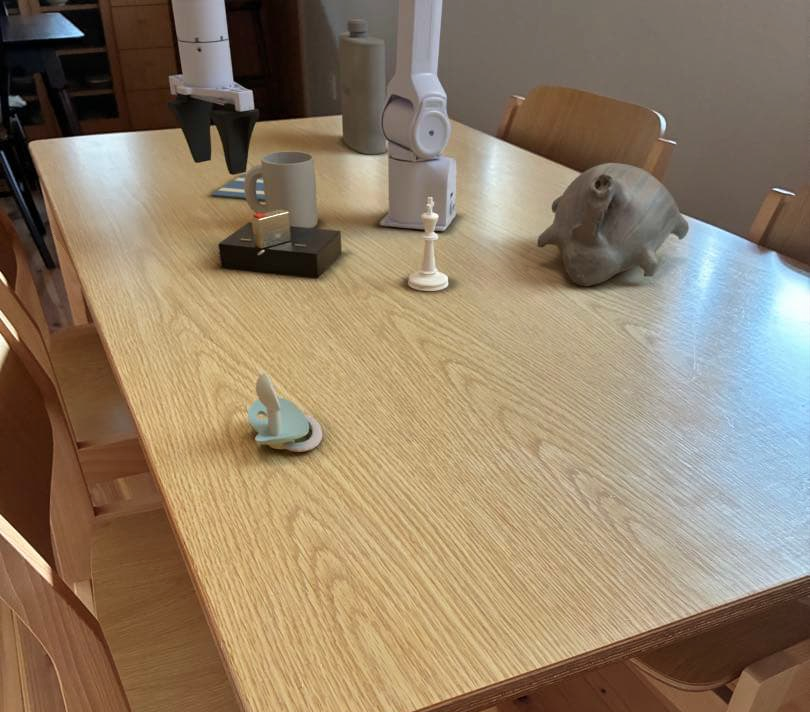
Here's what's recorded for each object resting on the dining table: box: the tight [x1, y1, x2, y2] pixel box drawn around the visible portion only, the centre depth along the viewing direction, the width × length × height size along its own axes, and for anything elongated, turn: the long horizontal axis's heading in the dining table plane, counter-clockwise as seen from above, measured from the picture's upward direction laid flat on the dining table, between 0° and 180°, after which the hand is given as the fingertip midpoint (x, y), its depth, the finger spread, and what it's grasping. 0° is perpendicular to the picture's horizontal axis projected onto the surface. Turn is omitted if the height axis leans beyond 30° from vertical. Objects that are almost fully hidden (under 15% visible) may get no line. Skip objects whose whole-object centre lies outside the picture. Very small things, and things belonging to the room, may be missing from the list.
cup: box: [244, 150, 319, 228], centre depth 112 cm, size 7×10×9 cm
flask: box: [338, 18, 387, 155], centre depth 146 cm, size 15×6×20 cm, turn 20°
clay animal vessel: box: [537, 162, 690, 287], centre depth 101 cm, size 18×16×14 cm
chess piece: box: [407, 197, 449, 292], centre depth 95 cm, size 5×5×10 cm
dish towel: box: [211, 174, 265, 202], centre depth 130 cm, size 9×12×1 cm
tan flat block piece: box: [250, 209, 291, 248], centre depth 99 cm, size 4×2×4 cm, turn 133°
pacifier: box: [247, 372, 323, 453], centre depth 68 cm, size 7×6×6 cm
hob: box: [217, 221, 343, 279], centre depth 102 cm, size 13×11×3 cm
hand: (219, 167), depth 100 cm, fingers open, 7 cm apart
